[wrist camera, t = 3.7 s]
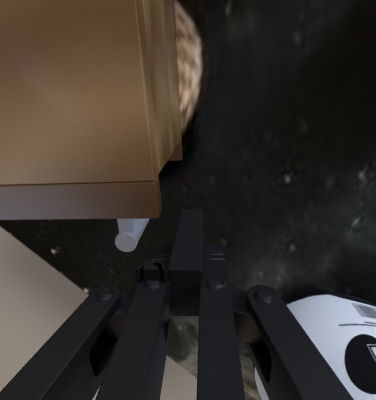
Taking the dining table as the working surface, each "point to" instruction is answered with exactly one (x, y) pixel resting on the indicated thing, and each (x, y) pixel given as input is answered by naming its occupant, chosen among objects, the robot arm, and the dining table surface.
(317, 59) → the dining table surface
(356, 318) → the doce de leite tub
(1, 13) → the cabinet
